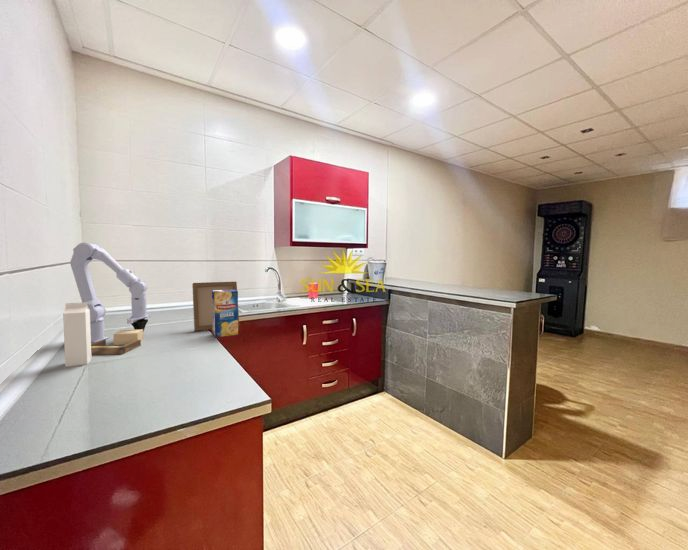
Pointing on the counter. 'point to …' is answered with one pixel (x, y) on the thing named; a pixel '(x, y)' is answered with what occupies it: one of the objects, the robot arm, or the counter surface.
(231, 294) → the blue cardboard box
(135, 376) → the counter surface
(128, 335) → the carton
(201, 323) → the photo frame
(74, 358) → the milk
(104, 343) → the display stand
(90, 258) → the robot arm
